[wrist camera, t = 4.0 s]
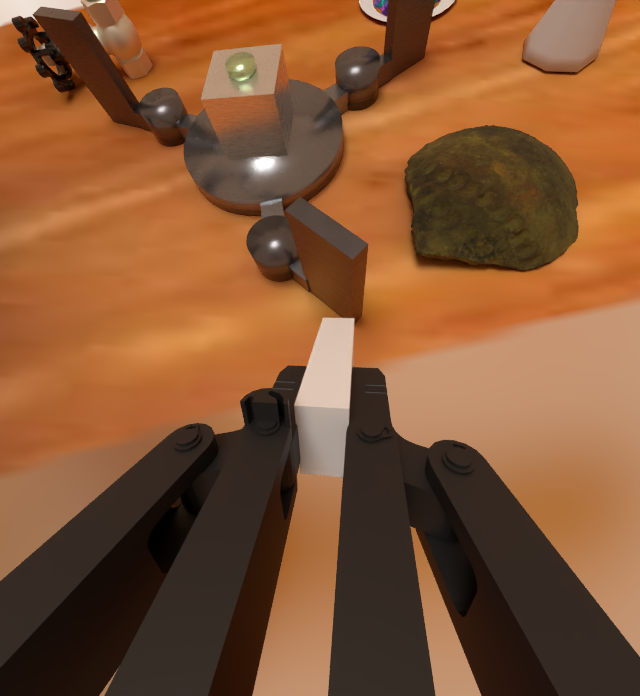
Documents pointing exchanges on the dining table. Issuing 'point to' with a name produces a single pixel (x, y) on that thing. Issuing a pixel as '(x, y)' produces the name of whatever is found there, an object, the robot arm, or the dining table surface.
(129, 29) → the valve
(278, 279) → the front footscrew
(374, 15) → the pudding
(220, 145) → the tribrach
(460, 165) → the pottery fragment
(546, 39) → the flask
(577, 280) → the dining table surface
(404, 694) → the robot arm
